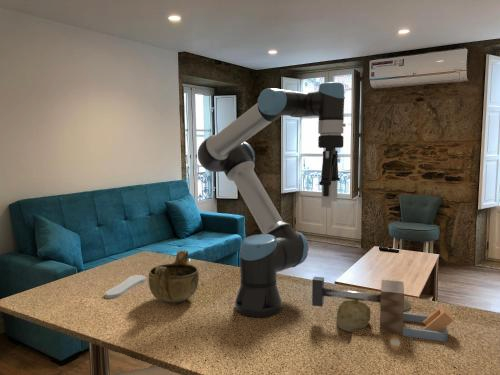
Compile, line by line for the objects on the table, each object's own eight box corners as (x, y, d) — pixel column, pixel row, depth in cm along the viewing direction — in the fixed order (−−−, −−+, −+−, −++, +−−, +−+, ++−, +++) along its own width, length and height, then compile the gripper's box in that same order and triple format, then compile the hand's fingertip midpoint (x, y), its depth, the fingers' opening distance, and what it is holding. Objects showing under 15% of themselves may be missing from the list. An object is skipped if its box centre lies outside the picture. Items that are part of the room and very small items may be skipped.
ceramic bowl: (164, 287, 152) (163, 248, 151) (207, 290, 149) (207, 250, 147) (136, 311, 130) (134, 266, 129) (186, 315, 127) (185, 268, 126)
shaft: (312, 305, 122) (312, 279, 121) (313, 301, 125) (314, 276, 124) (387, 314, 115) (388, 287, 114) (387, 310, 118) (388, 284, 117)
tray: (402, 340, 110) (403, 328, 110) (401, 323, 121) (402, 312, 120) (447, 346, 107) (447, 334, 106) (442, 329, 117) (443, 317, 117)
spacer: (424, 329, 111) (444, 312, 109) (423, 321, 116) (442, 305, 114) (433, 337, 110) (453, 320, 108) (431, 329, 115) (450, 313, 113)
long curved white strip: (148, 279, 162) (148, 275, 162) (117, 300, 141) (117, 295, 141) (133, 278, 164) (133, 274, 164) (99, 298, 143) (99, 294, 143)
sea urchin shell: (415, 310, 125) (396, 291, 126) (395, 326, 127) (377, 307, 128) (410, 299, 134) (393, 282, 135) (392, 314, 136) (375, 297, 137)
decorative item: (342, 343, 115) (364, 326, 110) (324, 312, 121) (344, 294, 115) (361, 336, 122) (383, 319, 116) (343, 307, 127) (364, 290, 121)
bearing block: (379, 336, 113) (380, 291, 111) (380, 321, 122) (381, 279, 121) (402, 339, 111) (404, 293, 109) (401, 324, 120) (403, 281, 119)
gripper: (338, 133, 110) (336, 210, 113) (347, 135, 134) (346, 199, 136) (310, 134, 113) (310, 209, 115) (324, 135, 136) (324, 198, 139)
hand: (329, 204), depth 126 cm, fingers open, 13 cm apart
